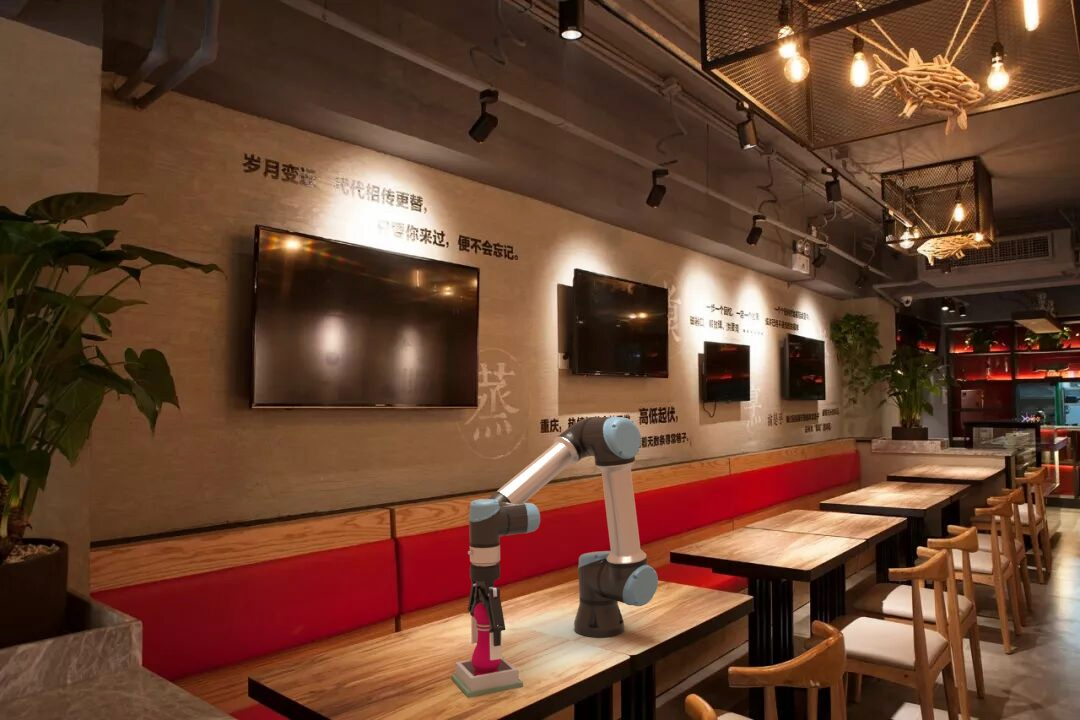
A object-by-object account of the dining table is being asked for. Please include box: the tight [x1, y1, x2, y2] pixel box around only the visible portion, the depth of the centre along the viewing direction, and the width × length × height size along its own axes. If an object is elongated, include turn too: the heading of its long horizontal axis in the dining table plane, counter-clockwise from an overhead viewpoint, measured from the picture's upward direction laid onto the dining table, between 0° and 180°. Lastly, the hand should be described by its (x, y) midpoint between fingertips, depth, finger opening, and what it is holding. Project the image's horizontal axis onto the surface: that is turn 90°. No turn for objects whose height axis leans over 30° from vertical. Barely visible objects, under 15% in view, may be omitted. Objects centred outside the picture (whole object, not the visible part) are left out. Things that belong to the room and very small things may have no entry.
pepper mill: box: [471, 602, 501, 676], centre depth 173 cm, size 7×7×20 cm
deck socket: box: [450, 656, 524, 698], centre depth 172 cm, size 14×13×4 cm
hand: (486, 650), depth 172 cm, fingers open, 13 cm apart
